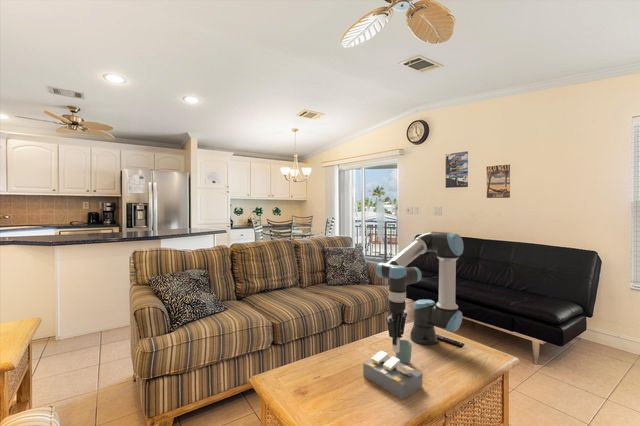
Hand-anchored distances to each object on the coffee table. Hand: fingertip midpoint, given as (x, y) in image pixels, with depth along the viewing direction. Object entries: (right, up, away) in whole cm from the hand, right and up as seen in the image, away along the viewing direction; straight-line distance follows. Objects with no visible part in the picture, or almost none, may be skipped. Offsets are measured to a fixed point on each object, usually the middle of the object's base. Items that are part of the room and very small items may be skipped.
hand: (396, 351), depth 140 cm
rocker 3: (+2, -6, -7) cm, 10 cm away
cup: (+7, -13, +15) cm, 21 cm away
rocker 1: (-7, -6, +4) cm, 10 cm away
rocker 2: (-2, -6, -1) cm, 7 cm away
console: (-2, -13, -1) cm, 13 cm away
